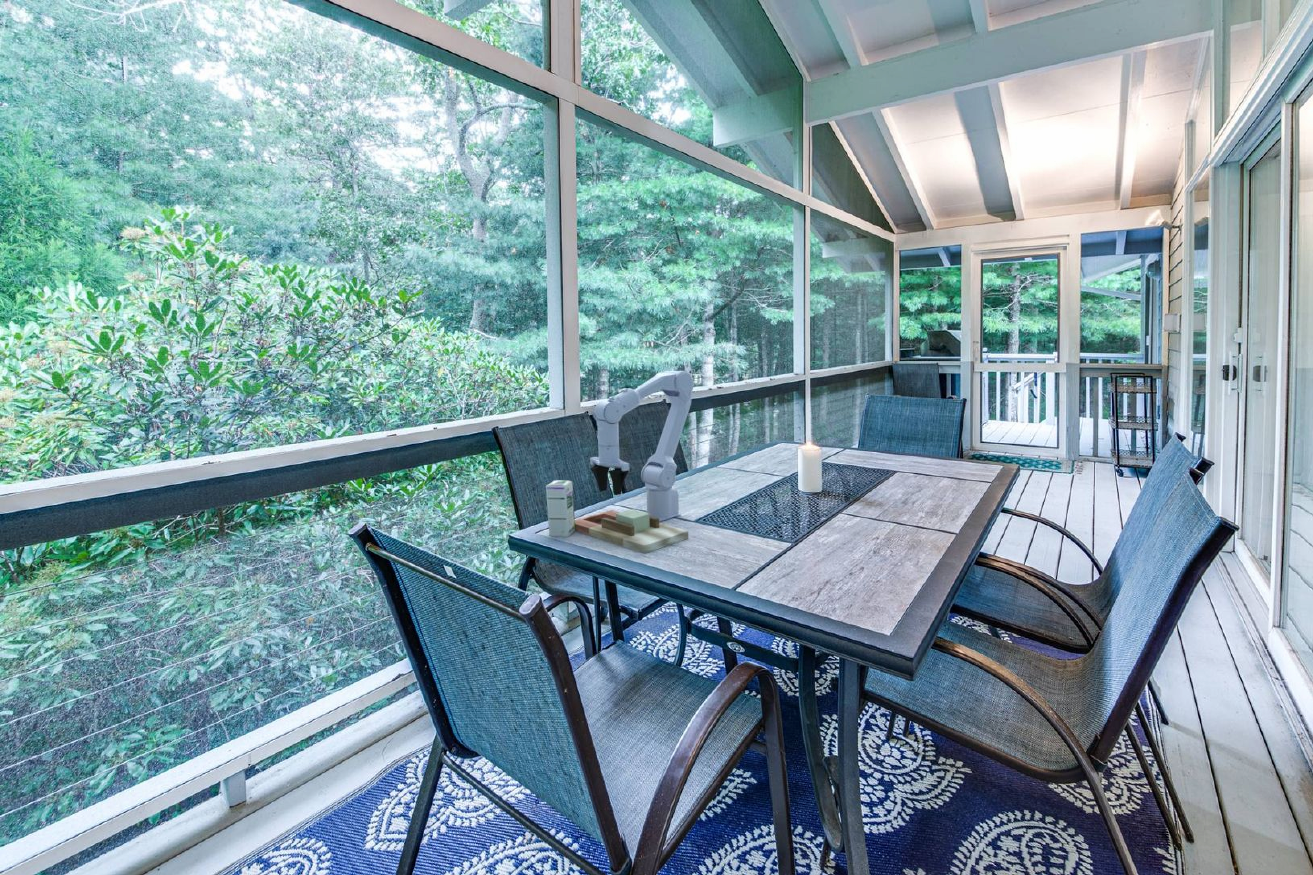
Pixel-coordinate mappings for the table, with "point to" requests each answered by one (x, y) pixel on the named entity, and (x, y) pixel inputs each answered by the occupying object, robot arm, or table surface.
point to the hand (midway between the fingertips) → (610, 492)
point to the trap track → (630, 532)
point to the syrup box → (560, 508)
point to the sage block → (634, 519)
